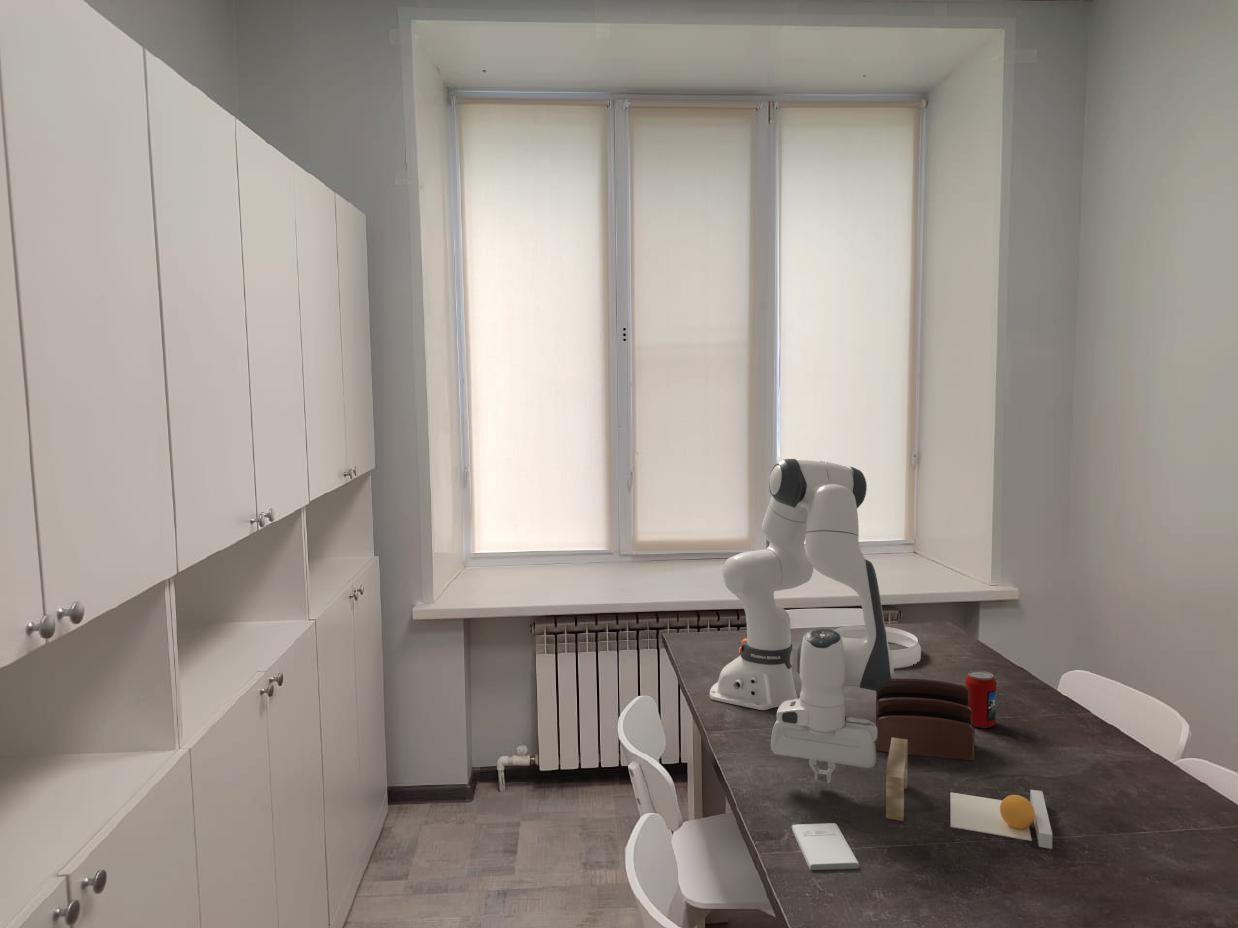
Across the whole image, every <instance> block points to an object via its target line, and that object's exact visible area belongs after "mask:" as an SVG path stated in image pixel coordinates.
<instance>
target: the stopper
mask: <svg viewBox="0 0 1238 928" xmlns="http://www.w3.org/2000/svg"><path fill="white" fill-rule="evenodd" d="M1029 792H1030V793H1029V794H1030V795H1029V796H1030V797H1029V799H1030V800H1029V802H1030V803H1031V804H1032V806H1033V808H1034V812H1035V818H1034V821H1033V824H1034V829H1035V834H1036V838H1037V844H1038V845H1037V846H1038V847H1039V848H1045V849H1049V850H1052V849H1053V831H1052V827H1051V823H1050V819H1049V814H1048V810H1047V807H1046V802H1045V797H1044V792H1043V790H1036V789H1030V791H1029Z"/></svg>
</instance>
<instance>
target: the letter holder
mask: <svg viewBox="0 0 1238 928" xmlns="http://www.w3.org/2000/svg"><path fill="white" fill-rule="evenodd" d="M969 693H970V692H969V689H968V688H967V687H966V686H965V685H963V684H958V683H954V682H950V681H949V682H948V681H943V680H933V679H926V678H925V679H924V678H904V677H903V678H900V677H899V678H895V677H893V678H892V681H891V682H890V683H889V684H887V685H886V686H885V687H883V688H882V689H880V690H878V691H875V725H876V726H877V729H878V737H877V740H876V741H875V747H876V752H884V753H886V752H887V753H889V750H890V744H891V738H899V739H906V740H908V742H907V755H911V756H912V755H913V756H922V757H933V758H941V759H949V758H951V759H952V760H960V759H961V760H963V761H969V760H971V762H974V761H975V733H976V732H975V726H972V710H971V708H970V707H969V696H970V694H969ZM961 760H960V761H961Z"/></svg>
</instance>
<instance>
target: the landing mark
mask: <svg viewBox="0 0 1238 928" xmlns="http://www.w3.org/2000/svg"><path fill="white" fill-rule="evenodd" d="M949 798H950V799H949V801H950V828H955V829H960V830H966V831H972V832H978V833H982V834H983V833H984V834H989V835H996V836H1000V837H1007V838H1013V839H1018V840H1023V841H1030V842H1032V840H1033V839H1032V835H1031V829H1030V826H1029V827H1027V828H1024V829H1017V828H1014V827H1012V826H1010V825H1008V824H1007V823H1006V822H1005V821H1004V819H1003V818H1002V816H1001V813H1000V805H1001V802H1002V801H1003V799H996V798H990V797H982V796H978V795H977V796H975V795H969V794H965V793H963V794H962V793H957V792H952V791H951V792H950V797H949Z"/></svg>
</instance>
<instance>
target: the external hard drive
mask: <svg viewBox="0 0 1238 928" xmlns="http://www.w3.org/2000/svg"><path fill="white" fill-rule="evenodd" d="M791 830H792V832H793V835H794V837H795V840H796V842H797V844H798V846H799V849H800V851H801V852H802V855H803V857H804V860H805V862H806V864H807V866H808V869H809V870H810V871H819V870H824V871H825V870H826V871H827V870H846V869H847V870H849V869H850V870H851V869H859V868H860V863H859V861H858V860H857V858H856V856H855V853H853V851H852V849H851V847H850V845H849V844H848V842H847V840H846V838H845V837H844V834H843V833H842V832H841V829H840V828H839V826H838V824H837V823H835V822H833V823H832V822H831V823H807V824H806V823H804V824H802V823H801V824H799V823H797V824H793V825H791Z"/></svg>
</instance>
